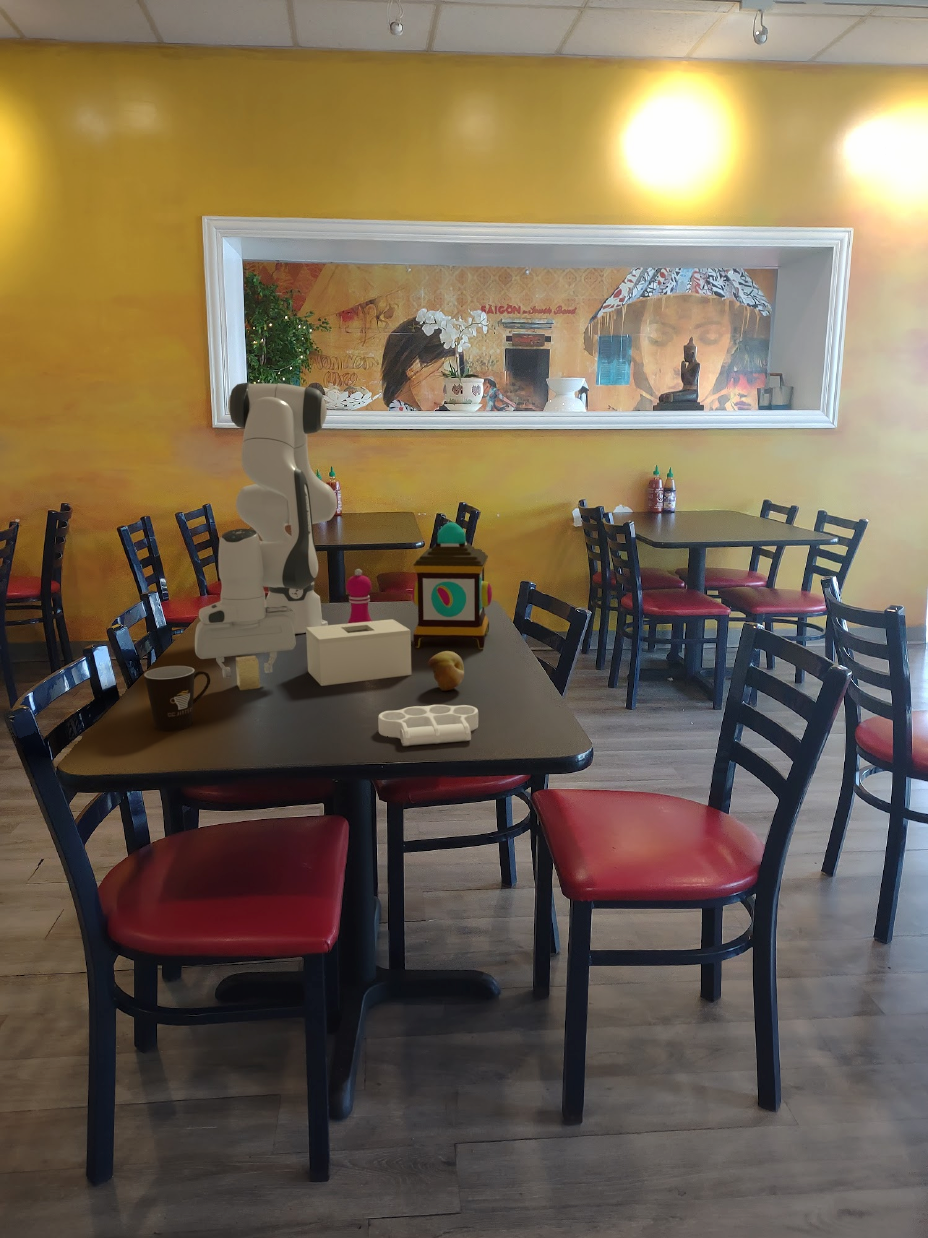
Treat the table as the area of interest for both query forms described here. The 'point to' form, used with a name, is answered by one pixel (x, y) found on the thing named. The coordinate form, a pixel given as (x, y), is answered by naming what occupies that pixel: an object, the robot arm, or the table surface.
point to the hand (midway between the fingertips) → (247, 674)
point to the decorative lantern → (451, 589)
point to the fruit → (447, 669)
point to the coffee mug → (173, 696)
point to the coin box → (358, 651)
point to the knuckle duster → (429, 724)
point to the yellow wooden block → (247, 672)
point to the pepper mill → (359, 597)
